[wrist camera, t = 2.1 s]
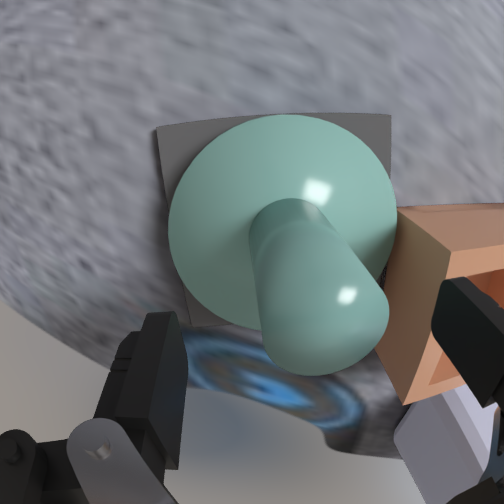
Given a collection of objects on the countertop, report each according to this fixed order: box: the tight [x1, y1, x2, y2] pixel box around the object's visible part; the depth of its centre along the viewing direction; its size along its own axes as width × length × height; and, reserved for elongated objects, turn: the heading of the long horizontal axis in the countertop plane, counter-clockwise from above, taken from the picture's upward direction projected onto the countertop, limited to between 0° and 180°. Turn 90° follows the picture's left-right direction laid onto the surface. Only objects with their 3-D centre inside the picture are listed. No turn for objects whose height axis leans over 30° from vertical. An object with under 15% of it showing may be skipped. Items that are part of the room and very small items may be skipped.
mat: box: [156, 113, 391, 327], centre depth 14 cm, size 10×10×1 cm
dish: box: [374, 203, 504, 405], centre depth 14 cm, size 9×9×5 cm
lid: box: [168, 114, 397, 376], centre depth 11 cm, size 10×10×7 cm
